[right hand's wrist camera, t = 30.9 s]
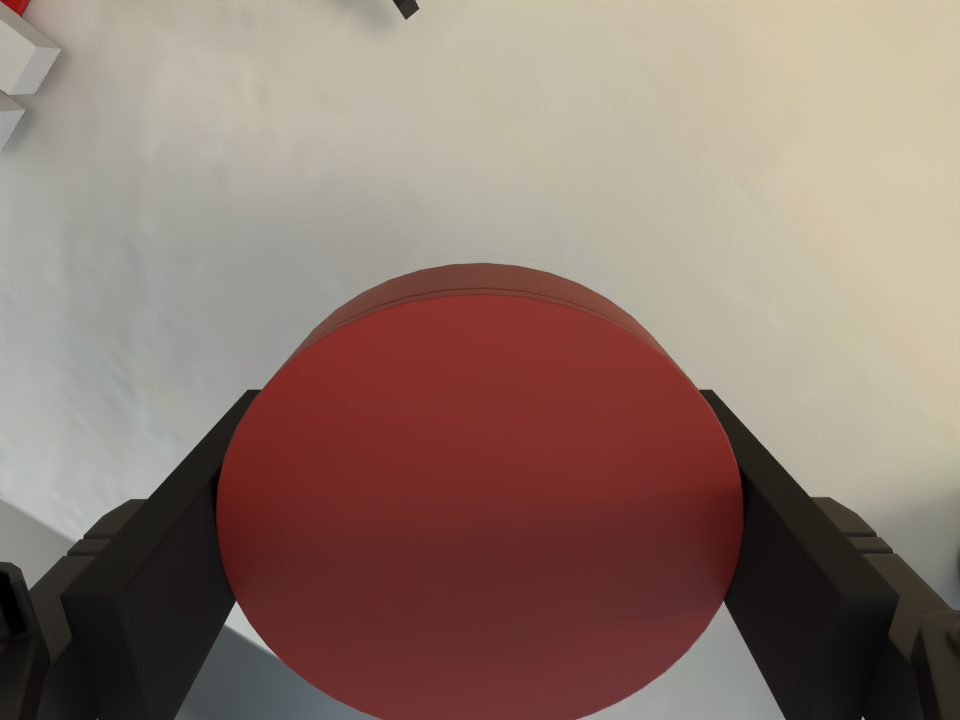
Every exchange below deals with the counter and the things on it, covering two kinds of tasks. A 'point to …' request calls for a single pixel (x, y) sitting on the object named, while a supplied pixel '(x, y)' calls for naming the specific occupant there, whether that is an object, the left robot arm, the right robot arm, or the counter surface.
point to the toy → (20, 62)
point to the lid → (479, 501)
